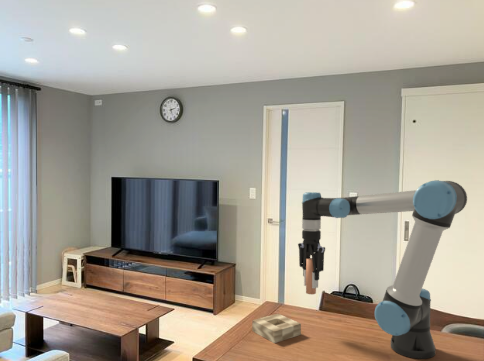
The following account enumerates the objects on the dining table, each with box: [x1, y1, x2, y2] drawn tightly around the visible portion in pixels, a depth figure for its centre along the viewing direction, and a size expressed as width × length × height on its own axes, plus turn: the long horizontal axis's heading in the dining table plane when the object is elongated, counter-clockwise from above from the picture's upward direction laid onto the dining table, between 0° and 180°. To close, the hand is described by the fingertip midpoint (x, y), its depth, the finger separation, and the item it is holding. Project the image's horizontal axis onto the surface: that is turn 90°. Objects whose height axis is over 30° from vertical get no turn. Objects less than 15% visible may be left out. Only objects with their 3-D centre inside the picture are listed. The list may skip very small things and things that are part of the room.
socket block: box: [251, 313, 302, 344], centre depth 155 cm, size 14×14×4 cm
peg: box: [305, 257, 317, 295], centre depth 157 cm, size 4×4×14 cm
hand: (311, 286), depth 157 cm, fingers closed on peg, 4 cm apart
